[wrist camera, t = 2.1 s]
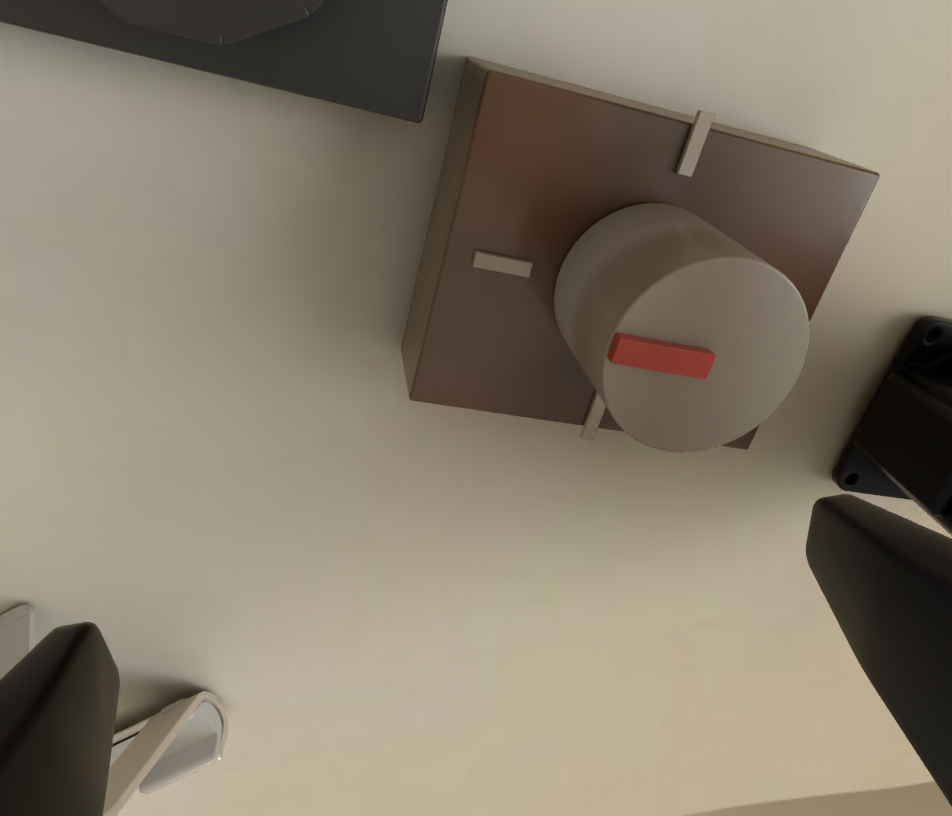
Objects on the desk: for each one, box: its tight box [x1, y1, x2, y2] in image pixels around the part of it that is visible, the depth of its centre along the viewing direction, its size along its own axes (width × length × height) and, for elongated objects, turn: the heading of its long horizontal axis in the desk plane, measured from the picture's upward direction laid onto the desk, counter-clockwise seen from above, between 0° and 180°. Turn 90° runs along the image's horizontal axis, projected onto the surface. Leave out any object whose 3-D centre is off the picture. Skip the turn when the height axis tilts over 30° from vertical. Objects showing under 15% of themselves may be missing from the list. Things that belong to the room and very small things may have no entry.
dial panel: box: [401, 57, 880, 449], centre depth 20 cm, size 10×9×3 cm
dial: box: [554, 203, 810, 452], centre depth 17 cm, size 4×4×4 cm
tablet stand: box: [0, 604, 228, 816], centre depth 23 cm, size 9×8×8 cm
